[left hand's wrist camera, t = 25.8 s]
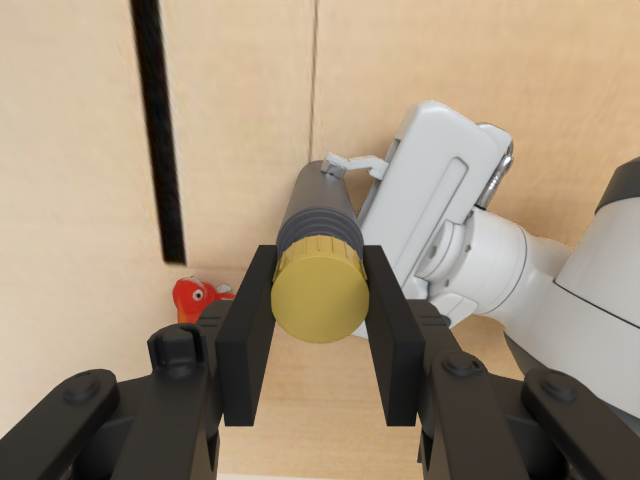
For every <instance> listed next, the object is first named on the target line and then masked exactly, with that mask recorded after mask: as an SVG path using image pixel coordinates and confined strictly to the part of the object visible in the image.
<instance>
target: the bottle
mask: <svg viewBox="0 0 640 480" xmlns="http://www.w3.org/2000/svg"><path fill="white" fill-rule="evenodd" d="M322 164H323V161H314V162H311V163H309V164H307V165H306V166H305V167H304V168H303V169H302V170H301V172H300V174H299V176H298V179H297V182H296V185H295V188H294V190H293V193H292V196H291V199H290V202H289V205H288V208H287V211H286V213H285V216H284V219H283V222H282V225H281V228H280V231H279V233H278V237H277V241H276V245H277V252H278V261H280V259H281V257H282V255H283V252H284V251H286V250H287V249H288V248H289V247H290V246H291V245H292V243H295V242H297V241H299V240H301V239H303V238H305V237H310V236H318V235H323V236H330V237H332V236H333V237H334V238H337V239H339V240H341V241H343V242H346V243H347V244H348V245H349V246H350V247H351V248H352V249H353V250H356V252H357V255H358V257H359V259H360V261H362V257H363V245H364V239H363V235H362V232H361V230H360V227H359V224H358V221H357V218H356V215H355V212H354V210H353V207H352V204H351V201H350V198H349V195H348V192H347V190H346V187H345V184H344V181H343V178H342V180H341V179H339V178H337V177H335V176H333V174H332V173H331V174H327V173H325V172H323V171H321V167H322Z"/></svg>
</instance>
